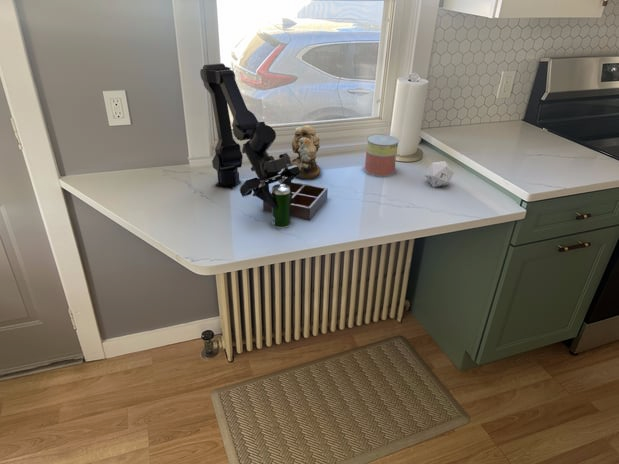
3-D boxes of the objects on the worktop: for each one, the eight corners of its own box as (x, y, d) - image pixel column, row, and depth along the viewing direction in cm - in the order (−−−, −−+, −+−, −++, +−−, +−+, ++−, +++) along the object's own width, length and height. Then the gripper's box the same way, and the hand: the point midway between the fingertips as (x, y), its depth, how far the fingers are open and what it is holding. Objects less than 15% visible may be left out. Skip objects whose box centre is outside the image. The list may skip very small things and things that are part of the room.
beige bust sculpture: (281, 163, 178) (281, 119, 170) (311, 160, 182) (312, 117, 173) (294, 181, 164) (295, 134, 155) (326, 178, 167) (328, 132, 158)
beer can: (278, 230, 134) (277, 193, 128) (268, 223, 138) (268, 186, 132) (293, 226, 136) (294, 188, 130) (284, 218, 140) (284, 182, 134)
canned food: (396, 176, 170) (400, 145, 163) (365, 176, 170) (368, 144, 163) (392, 165, 179) (396, 134, 173) (363, 164, 179) (365, 134, 173)
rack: (263, 210, 144) (262, 198, 142) (283, 191, 157) (283, 179, 155) (309, 220, 140) (310, 208, 138) (327, 199, 152) (327, 188, 150)
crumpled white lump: (419, 186, 165) (432, 171, 156) (424, 166, 169) (437, 151, 160) (440, 195, 165) (454, 182, 156) (445, 176, 169) (460, 161, 160)
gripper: (243, 153, 122) (270, 205, 121) (297, 138, 133) (322, 186, 132) (228, 171, 131) (253, 220, 130) (279, 156, 142) (303, 201, 141)
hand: (284, 206), depth 133 cm, fingers closed on beer can, 5 cm apart
